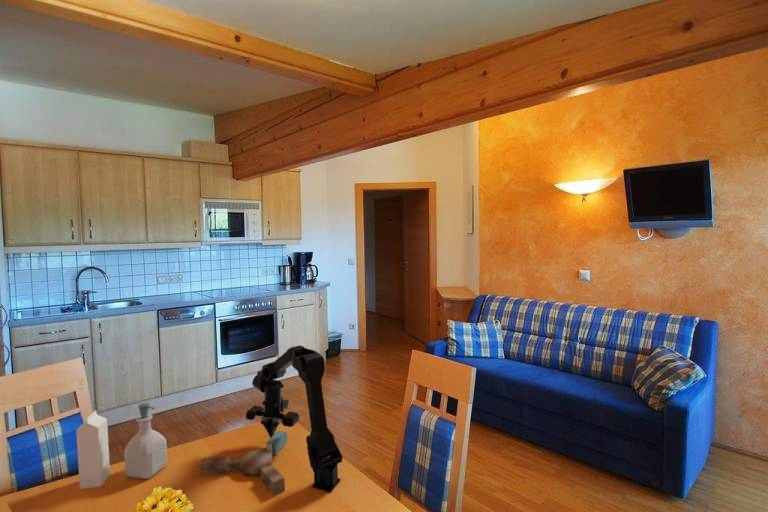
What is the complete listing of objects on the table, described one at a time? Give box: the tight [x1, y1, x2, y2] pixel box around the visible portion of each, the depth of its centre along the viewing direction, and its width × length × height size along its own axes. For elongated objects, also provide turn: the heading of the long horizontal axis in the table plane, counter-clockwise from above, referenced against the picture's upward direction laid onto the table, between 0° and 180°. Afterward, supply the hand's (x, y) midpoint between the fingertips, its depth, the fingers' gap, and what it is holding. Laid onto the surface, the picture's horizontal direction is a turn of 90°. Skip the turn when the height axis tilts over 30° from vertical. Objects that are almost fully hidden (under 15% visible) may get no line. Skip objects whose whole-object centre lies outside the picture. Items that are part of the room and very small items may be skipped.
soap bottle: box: [123, 402, 168, 480], centre depth 133 cm, size 10×10×23 cm
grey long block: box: [265, 430, 288, 456], centre depth 147 cm, size 11×4×4 cm, turn 167°
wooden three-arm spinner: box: [199, 448, 286, 496], centre depth 133 cm, size 31×16×4 cm, turn 68°
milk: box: [75, 410, 111, 490], centre depth 128 cm, size 6×6×22 cm
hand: (272, 438), depth 150 cm, fingers closed
